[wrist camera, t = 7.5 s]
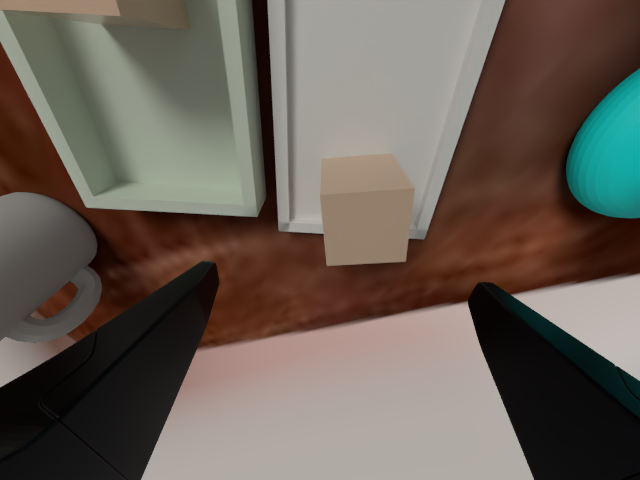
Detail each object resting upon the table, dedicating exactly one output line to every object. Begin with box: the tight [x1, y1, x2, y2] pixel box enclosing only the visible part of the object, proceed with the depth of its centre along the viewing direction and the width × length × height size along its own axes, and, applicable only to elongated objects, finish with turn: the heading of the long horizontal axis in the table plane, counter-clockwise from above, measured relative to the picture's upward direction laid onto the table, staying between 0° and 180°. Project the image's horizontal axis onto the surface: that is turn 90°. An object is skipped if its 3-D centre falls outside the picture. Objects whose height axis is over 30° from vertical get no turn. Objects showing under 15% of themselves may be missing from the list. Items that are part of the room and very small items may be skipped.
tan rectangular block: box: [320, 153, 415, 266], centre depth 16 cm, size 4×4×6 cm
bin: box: [0, 0, 266, 217], centre depth 14 cm, size 11×16×3 cm
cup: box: [0, 192, 102, 343], centre depth 19 cm, size 7×10×9 cm
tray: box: [267, 0, 505, 239], centre depth 16 cm, size 11×16×1 cm
